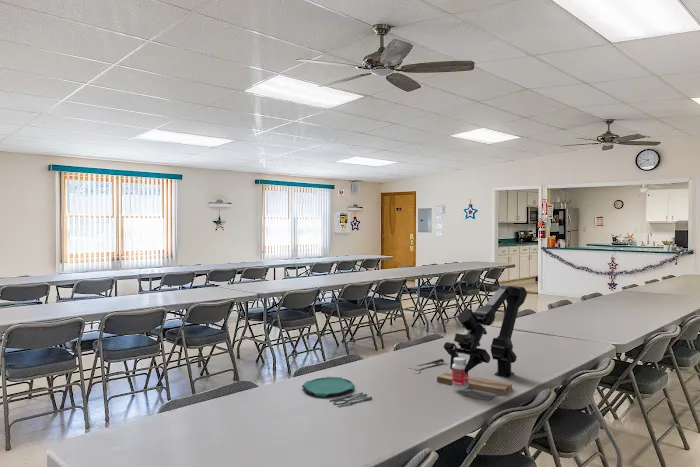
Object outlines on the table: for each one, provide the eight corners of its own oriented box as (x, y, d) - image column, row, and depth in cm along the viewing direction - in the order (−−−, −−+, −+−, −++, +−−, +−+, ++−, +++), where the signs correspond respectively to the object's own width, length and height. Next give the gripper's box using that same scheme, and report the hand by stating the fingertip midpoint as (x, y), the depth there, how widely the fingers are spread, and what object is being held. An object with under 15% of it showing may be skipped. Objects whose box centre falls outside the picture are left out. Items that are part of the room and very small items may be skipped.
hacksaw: (441, 361, 232) (441, 358, 232) (456, 366, 223) (456, 363, 223) (401, 369, 220) (401, 366, 220) (415, 375, 211) (415, 371, 211)
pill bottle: (465, 390, 184) (465, 361, 184) (450, 388, 187) (449, 359, 187) (470, 385, 189) (469, 357, 189) (455, 383, 193) (454, 355, 192)
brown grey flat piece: (447, 376, 207) (447, 371, 207) (512, 388, 190) (512, 383, 190) (426, 387, 193) (426, 382, 193) (494, 402, 176) (494, 396, 176)
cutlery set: (337, 378, 207) (337, 373, 207) (377, 400, 182) (377, 394, 181) (295, 387, 197) (295, 382, 197) (331, 412, 171) (330, 406, 171)
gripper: (445, 322, 197) (429, 354, 190) (485, 328, 184) (469, 363, 176) (457, 338, 203) (441, 370, 196) (497, 345, 189) (482, 380, 182)
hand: (457, 370), depth 187 cm, fingers closed on pill bottle, 6 cm apart
